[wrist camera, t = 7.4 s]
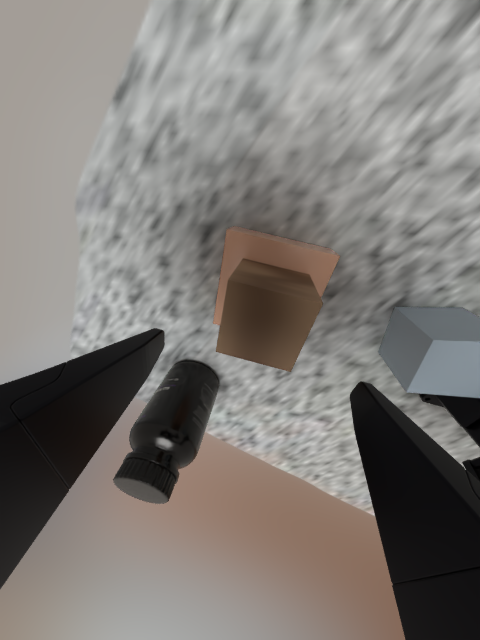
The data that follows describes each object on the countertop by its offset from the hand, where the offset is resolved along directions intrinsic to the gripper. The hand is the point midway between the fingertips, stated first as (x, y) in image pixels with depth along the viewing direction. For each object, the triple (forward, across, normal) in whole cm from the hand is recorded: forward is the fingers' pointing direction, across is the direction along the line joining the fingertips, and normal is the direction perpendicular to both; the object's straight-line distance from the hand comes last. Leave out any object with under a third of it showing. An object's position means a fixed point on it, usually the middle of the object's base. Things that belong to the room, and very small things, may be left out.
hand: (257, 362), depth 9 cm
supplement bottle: (+11, +6, +15) cm, 19 cm away
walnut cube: (+8, 0, 0) cm, 8 cm away
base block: (+11, 0, 0) cm, 11 cm away
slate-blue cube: (+10, -14, +1) cm, 18 cm away
